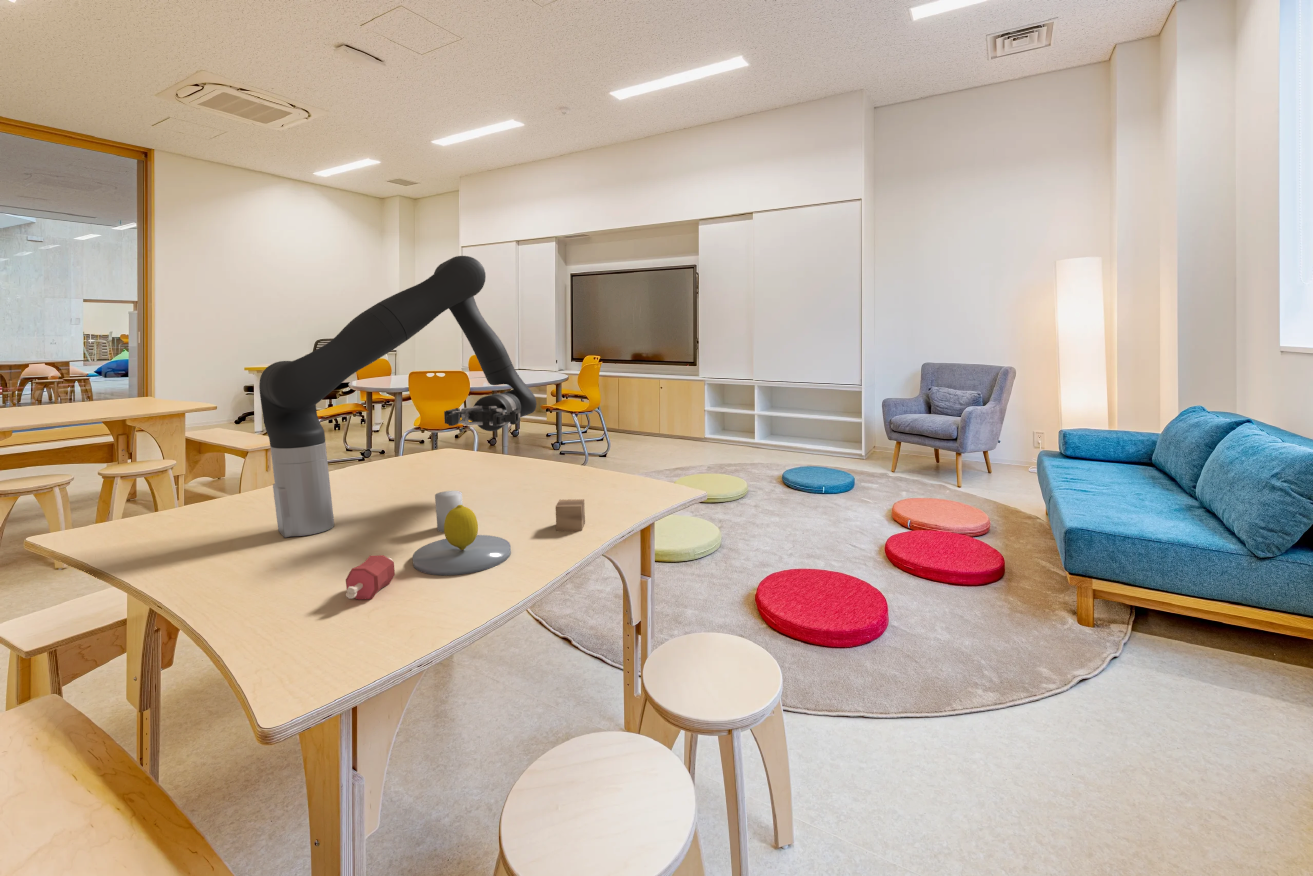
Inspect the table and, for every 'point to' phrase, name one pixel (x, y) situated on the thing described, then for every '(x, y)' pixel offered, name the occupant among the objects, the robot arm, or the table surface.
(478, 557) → the slate dish
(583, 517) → the walnut block
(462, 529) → the lemon
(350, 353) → the robot arm
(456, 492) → the grey cylinder
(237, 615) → the table surface
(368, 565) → the meat
